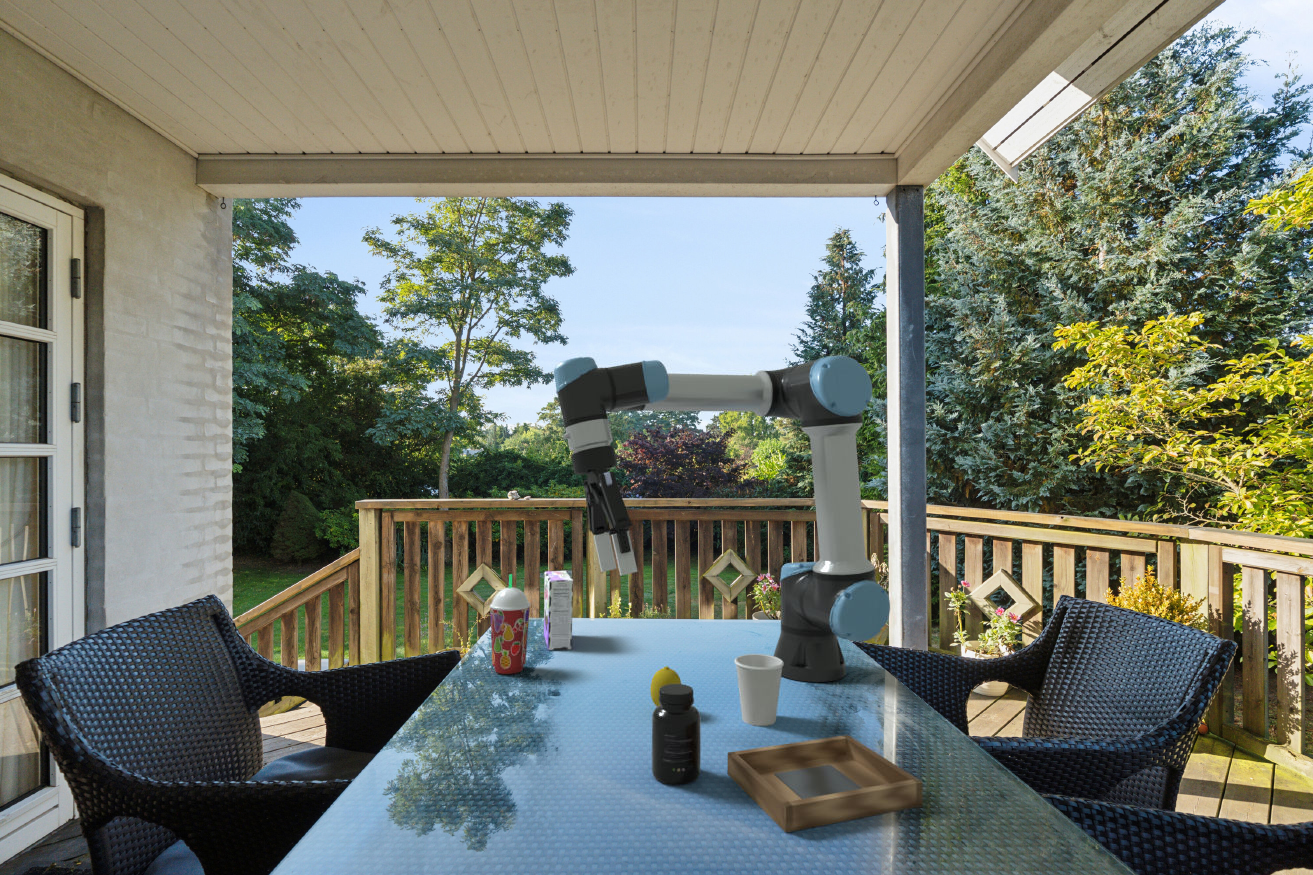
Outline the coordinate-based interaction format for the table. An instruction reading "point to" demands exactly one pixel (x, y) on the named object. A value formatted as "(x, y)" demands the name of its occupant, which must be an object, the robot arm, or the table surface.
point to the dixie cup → (759, 687)
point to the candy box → (558, 610)
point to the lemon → (662, 682)
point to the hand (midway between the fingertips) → (618, 571)
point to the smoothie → (509, 629)
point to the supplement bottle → (676, 736)
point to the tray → (823, 782)
